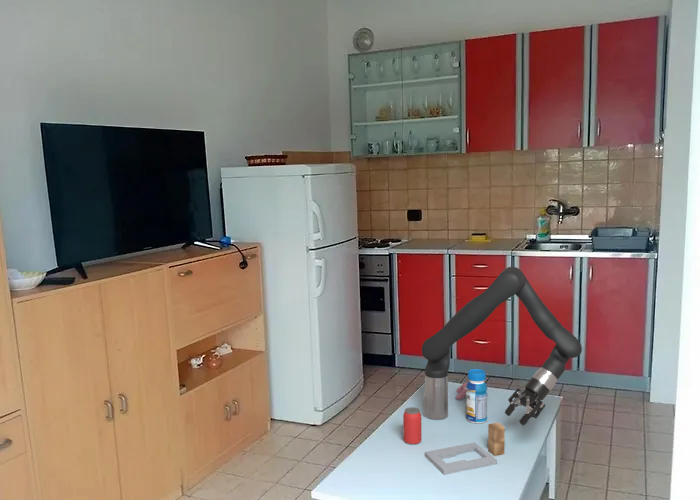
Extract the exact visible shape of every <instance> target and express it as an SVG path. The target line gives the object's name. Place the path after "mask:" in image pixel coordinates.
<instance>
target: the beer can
mask: <svg viewBox="0 0 700 500" xmlns="http://www.w3.org/2000/svg"><path fill="white" fill-rule="evenodd" d="M402 417H403V419H402V421H403V430H402V431H403V441H404V442H405V443H406V444H408V445H418V444H420V443H421V442H422V414H421V410H420V408H418V407H414V406H413V407H412V406H410V407H406V408H405V409H404V412H403V416H402Z"/></svg>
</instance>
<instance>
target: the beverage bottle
mask: <svg viewBox="0 0 700 500" xmlns="http://www.w3.org/2000/svg"><path fill="white" fill-rule="evenodd" d="M467 379H468V382H467V383H468V384H467V386H466V389H467V392H466V397H465V398H466V399H465V401H466V402H465V405H466V407H465V408H466V411H465V413H466V415H465V416H466V417H465V418H466V421H468V422H469V423H472V424H477V425H478V424H483V423H486V422H487V420H488V395H489V394H488V387H487V384H486V382H485V380H486V371H485V370H483V369H479V368H474V369H473V368H472V369H469V370H468V372H467Z"/></svg>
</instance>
